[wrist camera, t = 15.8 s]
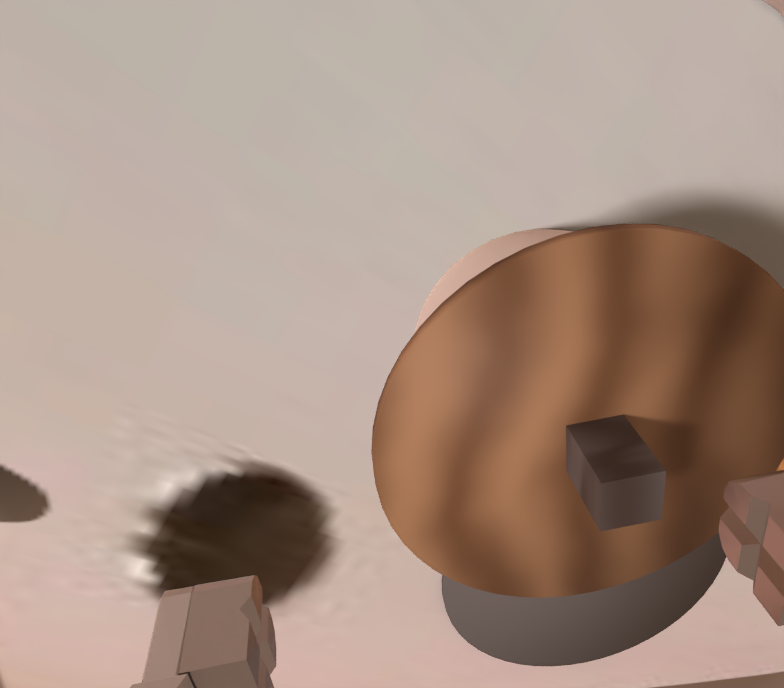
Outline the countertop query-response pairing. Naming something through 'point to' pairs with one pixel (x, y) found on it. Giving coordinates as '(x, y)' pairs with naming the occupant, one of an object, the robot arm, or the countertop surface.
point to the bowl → (481, 264)
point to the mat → (582, 613)
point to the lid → (582, 410)
